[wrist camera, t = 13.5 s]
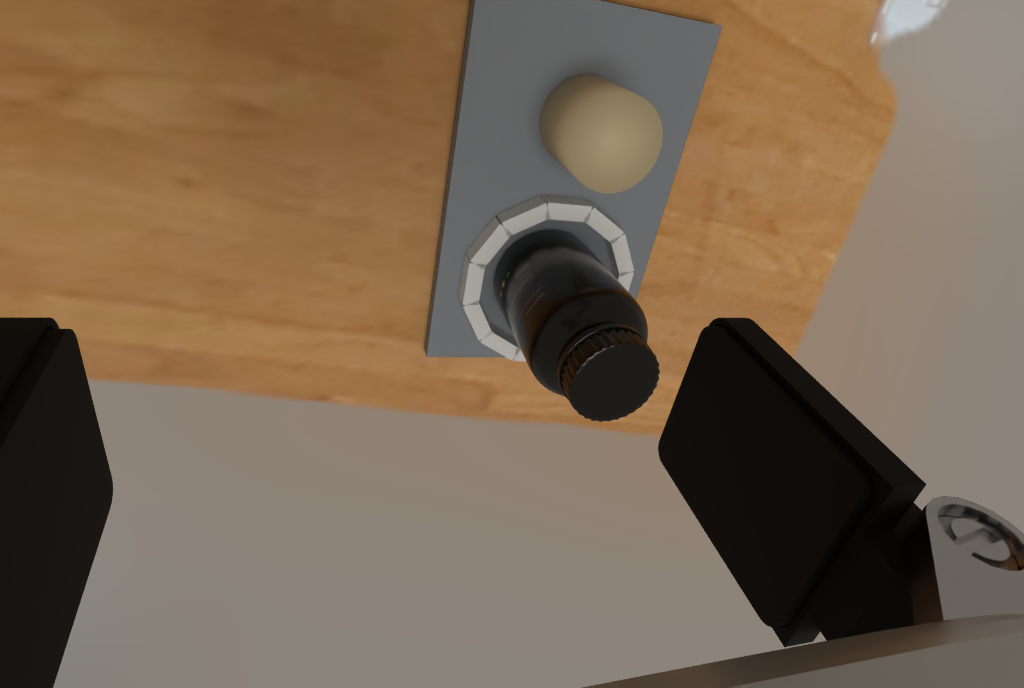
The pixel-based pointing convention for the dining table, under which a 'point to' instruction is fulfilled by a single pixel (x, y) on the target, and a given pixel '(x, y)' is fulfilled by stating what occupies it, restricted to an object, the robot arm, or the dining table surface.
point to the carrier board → (512, 139)
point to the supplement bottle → (576, 325)
